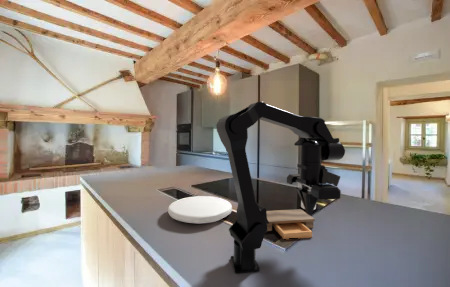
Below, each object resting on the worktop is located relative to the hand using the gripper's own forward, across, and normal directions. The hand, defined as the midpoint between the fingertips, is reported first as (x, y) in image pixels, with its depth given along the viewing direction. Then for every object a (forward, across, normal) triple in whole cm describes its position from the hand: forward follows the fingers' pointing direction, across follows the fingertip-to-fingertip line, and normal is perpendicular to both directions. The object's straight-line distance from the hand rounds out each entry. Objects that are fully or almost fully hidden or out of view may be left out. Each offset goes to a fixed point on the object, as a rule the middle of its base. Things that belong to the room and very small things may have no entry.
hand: (309, 213), depth 61 cm
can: (+11, +32, -19) cm, 39 cm away
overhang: (+11, +18, 0) cm, 21 cm away
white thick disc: (+11, +32, +31) cm, 46 cm away
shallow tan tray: (+11, +14, 0) cm, 17 cm away
